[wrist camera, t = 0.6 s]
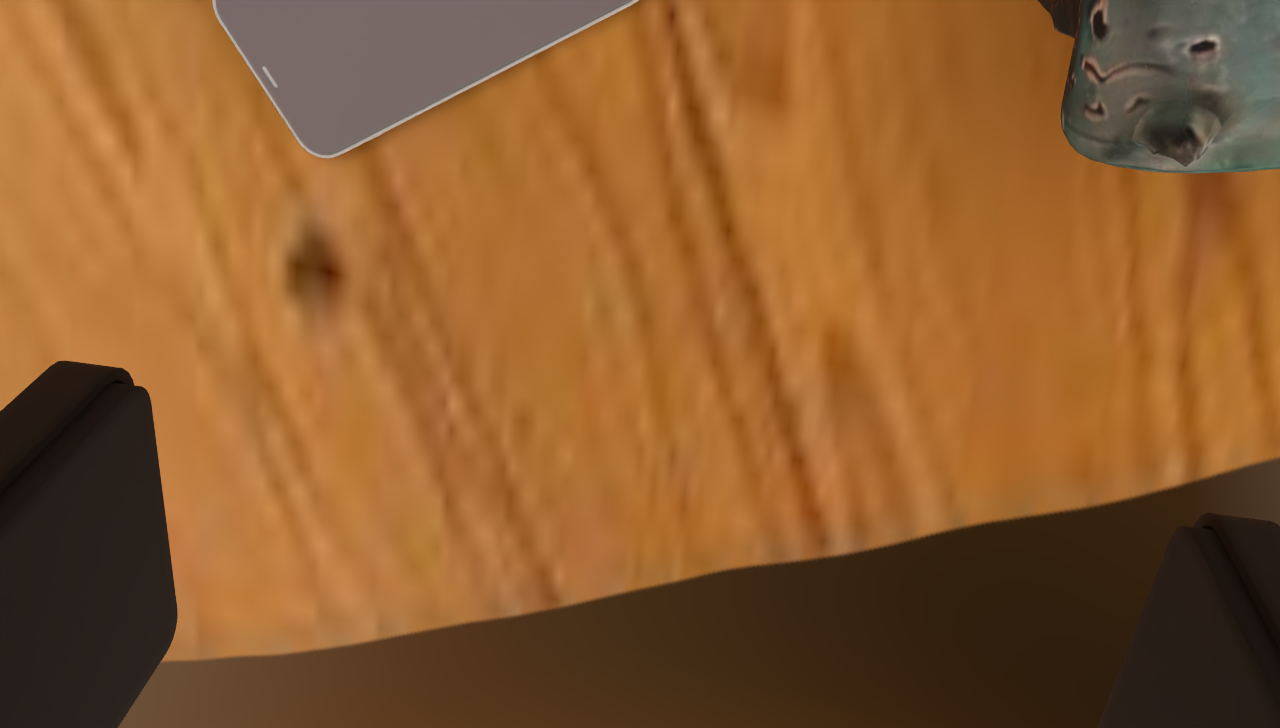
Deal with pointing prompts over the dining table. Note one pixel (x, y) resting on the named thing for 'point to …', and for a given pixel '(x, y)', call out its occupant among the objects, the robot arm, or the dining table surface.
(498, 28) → the smartphone
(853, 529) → the dining table surface
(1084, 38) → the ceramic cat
